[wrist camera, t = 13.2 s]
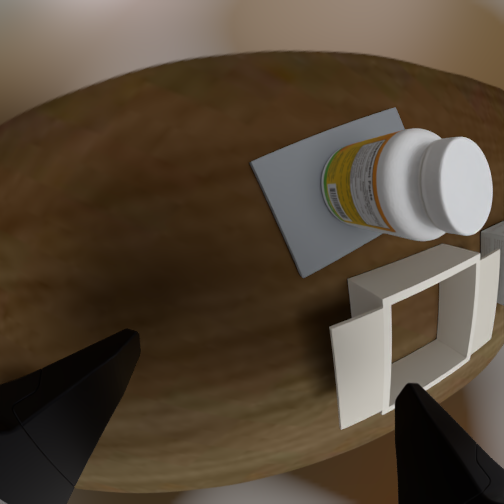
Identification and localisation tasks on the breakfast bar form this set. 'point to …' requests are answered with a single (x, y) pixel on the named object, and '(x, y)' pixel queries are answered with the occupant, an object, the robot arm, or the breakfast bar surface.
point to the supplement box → (491, 240)
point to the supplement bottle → (410, 185)
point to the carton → (380, 327)
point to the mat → (316, 192)
